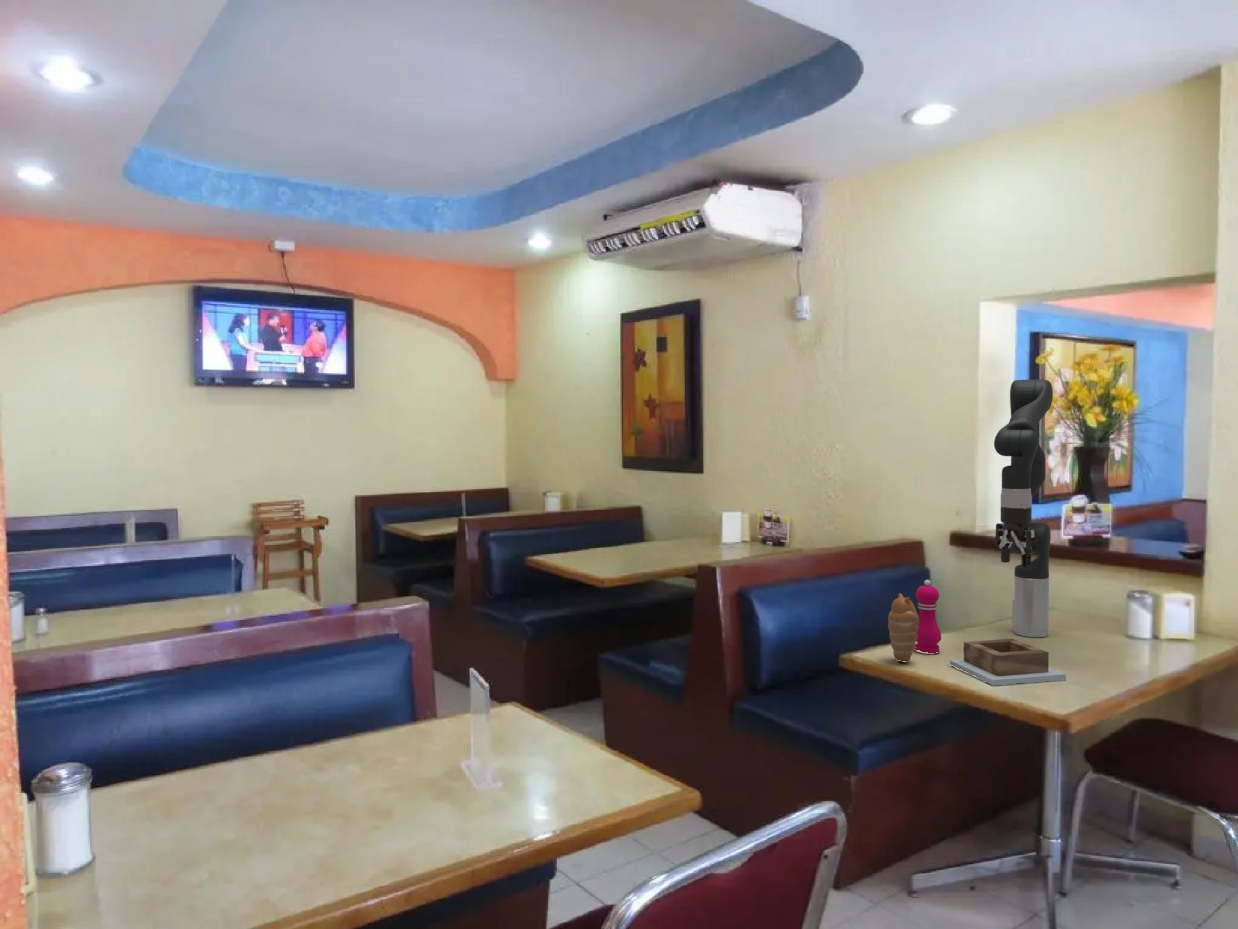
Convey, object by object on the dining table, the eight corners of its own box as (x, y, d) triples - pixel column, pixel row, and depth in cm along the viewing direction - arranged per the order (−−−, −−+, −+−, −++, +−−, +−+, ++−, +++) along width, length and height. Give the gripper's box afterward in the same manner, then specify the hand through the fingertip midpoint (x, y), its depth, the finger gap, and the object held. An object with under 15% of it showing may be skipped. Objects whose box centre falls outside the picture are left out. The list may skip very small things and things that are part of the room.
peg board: (949, 665, 226) (949, 650, 226) (1017, 660, 230) (1018, 645, 230) (992, 686, 208) (993, 669, 208) (1065, 680, 212) (1066, 664, 212)
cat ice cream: (924, 666, 226) (925, 597, 225) (896, 667, 225) (896, 598, 224) (908, 657, 235) (908, 591, 234) (881, 658, 233) (881, 592, 232)
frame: (963, 661, 225) (963, 641, 224) (1011, 657, 228) (1011, 638, 227) (997, 676, 211) (997, 656, 211) (1048, 672, 214) (1048, 652, 214)
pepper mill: (920, 646, 245) (921, 576, 244) (945, 651, 240) (946, 579, 239) (908, 651, 240) (908, 580, 239) (933, 656, 235) (934, 583, 234)
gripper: (986, 502, 236) (986, 561, 238) (1020, 509, 222) (1020, 571, 224) (1011, 501, 238) (1011, 559, 239) (1046, 507, 224) (1046, 569, 225)
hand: (1015, 565), depth 231 cm, fingers open, 8 cm apart
